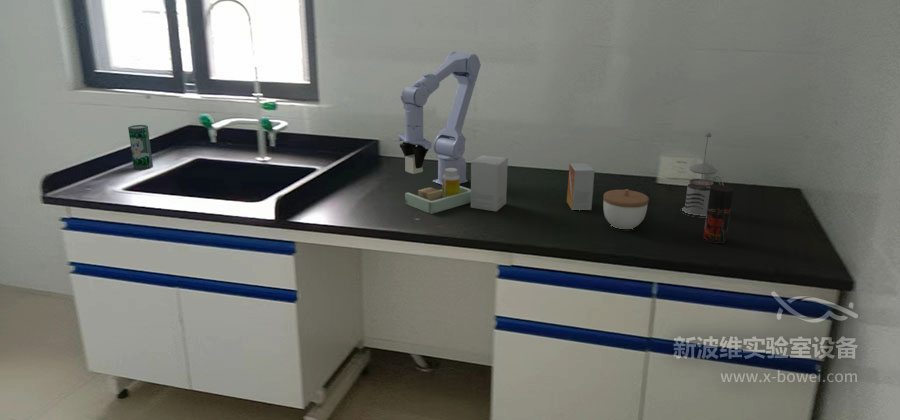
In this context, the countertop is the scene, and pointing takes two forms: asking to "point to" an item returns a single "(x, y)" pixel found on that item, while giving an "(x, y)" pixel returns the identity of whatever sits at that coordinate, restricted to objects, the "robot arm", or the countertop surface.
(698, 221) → the countertop surface
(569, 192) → the small box
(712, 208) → the deodorant
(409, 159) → the cream box
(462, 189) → the tray
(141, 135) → the can
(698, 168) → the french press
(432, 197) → the oak block
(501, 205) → the supplement box
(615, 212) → the lidded bowl
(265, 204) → the countertop surface
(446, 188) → the supplement bottle
